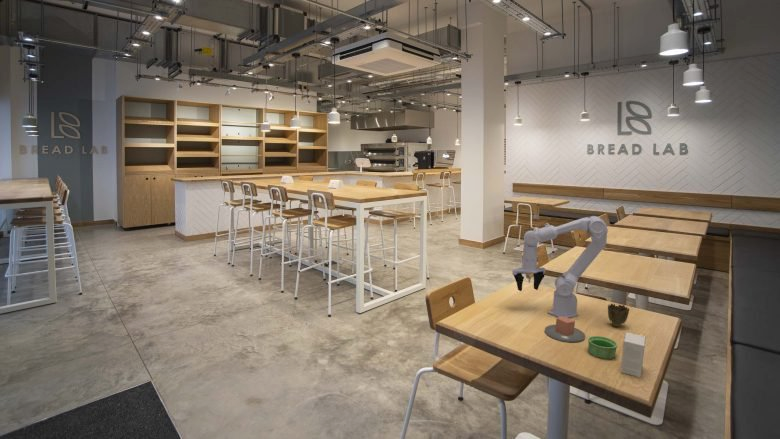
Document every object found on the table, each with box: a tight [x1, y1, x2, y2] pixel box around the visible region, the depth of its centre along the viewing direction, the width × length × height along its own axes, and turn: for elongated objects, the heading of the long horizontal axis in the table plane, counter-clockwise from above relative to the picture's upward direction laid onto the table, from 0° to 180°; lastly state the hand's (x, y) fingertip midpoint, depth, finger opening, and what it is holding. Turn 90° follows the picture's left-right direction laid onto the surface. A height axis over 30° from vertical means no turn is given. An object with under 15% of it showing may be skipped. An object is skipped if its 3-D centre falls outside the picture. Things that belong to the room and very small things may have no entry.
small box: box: [620, 332, 647, 378], centre depth 127 cm, size 8×6×10 cm
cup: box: [607, 303, 630, 328], centre depth 160 cm, size 8×7×8 cm
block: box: [555, 317, 576, 336], centre depth 153 cm, size 4×5×5 cm
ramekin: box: [587, 335, 618, 360], centre depth 138 cm, size 9×9×4 cm
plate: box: [544, 324, 586, 344], centre depth 153 cm, size 14×14×1 cm
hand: (527, 289), depth 175 cm, fingers open, 7 cm apart
